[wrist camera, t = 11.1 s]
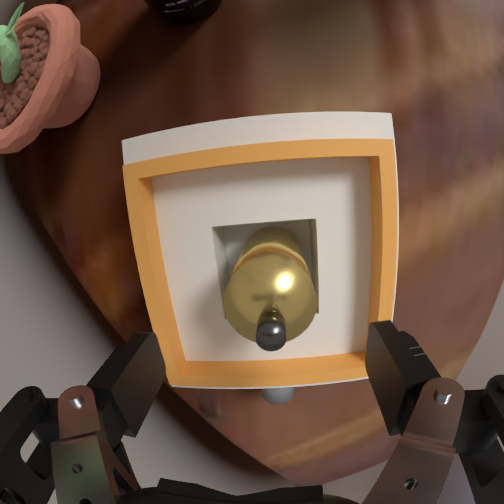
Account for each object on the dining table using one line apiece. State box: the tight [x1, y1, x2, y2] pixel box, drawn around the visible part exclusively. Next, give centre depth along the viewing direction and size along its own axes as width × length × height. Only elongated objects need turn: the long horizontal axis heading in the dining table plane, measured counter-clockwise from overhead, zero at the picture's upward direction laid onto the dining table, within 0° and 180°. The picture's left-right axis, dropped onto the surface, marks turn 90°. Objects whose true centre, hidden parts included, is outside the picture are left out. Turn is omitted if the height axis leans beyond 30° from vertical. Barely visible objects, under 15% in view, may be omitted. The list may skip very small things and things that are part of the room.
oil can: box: [224, 226, 317, 351], centre depth 18 cm, size 5×5×10 cm
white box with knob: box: [122, 112, 399, 404], centre depth 21 cm, size 23×18×8 cm
